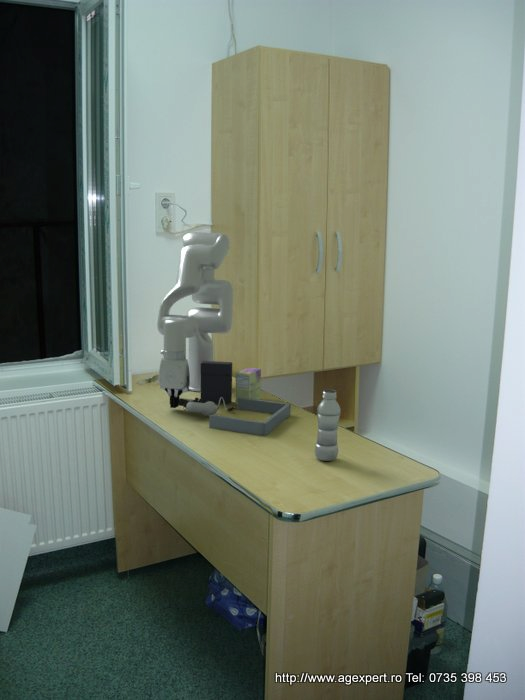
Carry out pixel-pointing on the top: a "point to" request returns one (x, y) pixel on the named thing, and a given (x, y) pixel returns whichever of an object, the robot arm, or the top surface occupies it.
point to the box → (248, 384)
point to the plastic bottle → (327, 427)
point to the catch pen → (249, 426)
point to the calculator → (216, 382)
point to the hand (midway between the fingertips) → (174, 406)
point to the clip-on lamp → (201, 406)
